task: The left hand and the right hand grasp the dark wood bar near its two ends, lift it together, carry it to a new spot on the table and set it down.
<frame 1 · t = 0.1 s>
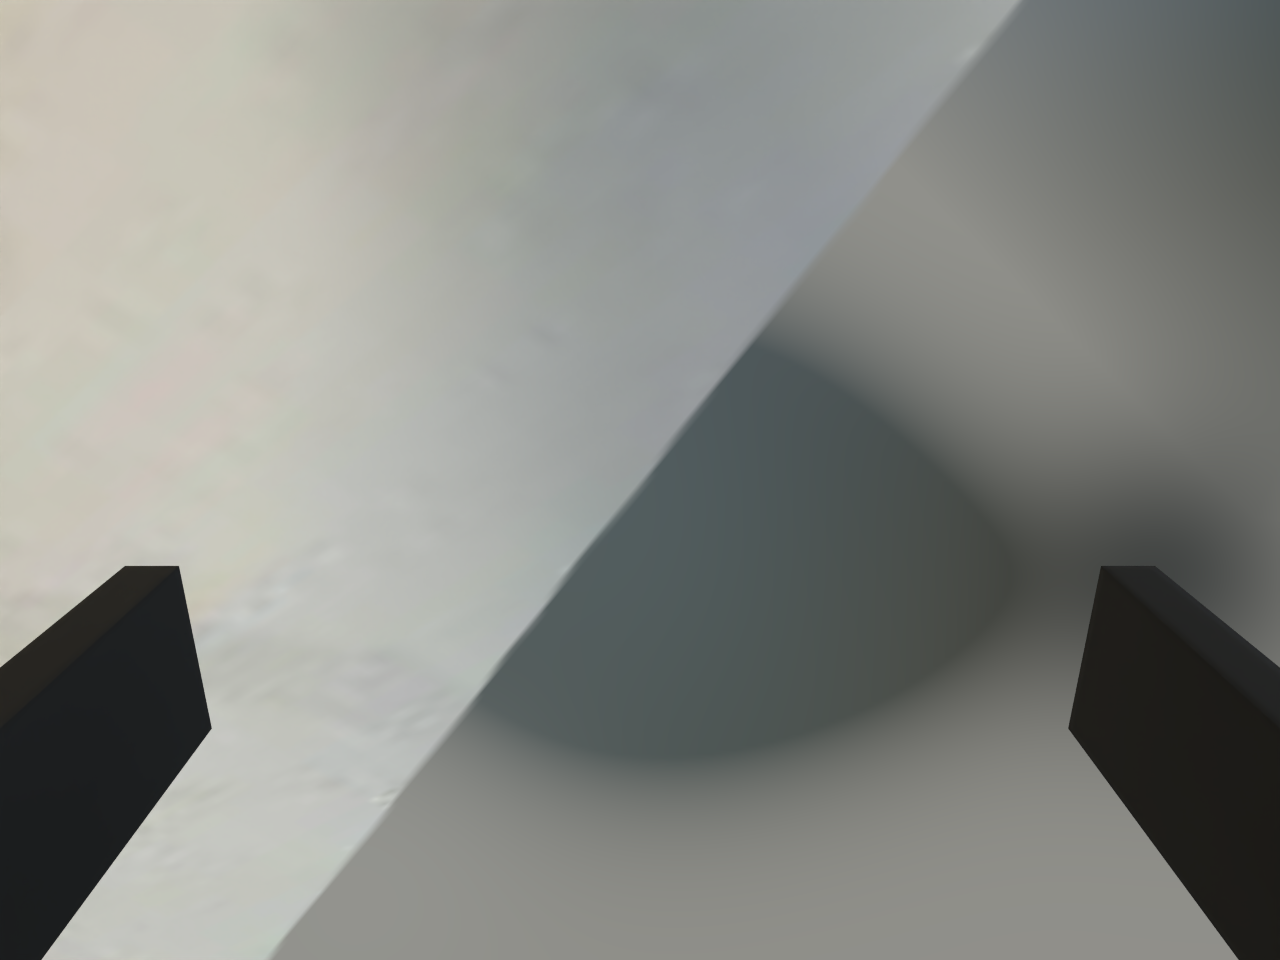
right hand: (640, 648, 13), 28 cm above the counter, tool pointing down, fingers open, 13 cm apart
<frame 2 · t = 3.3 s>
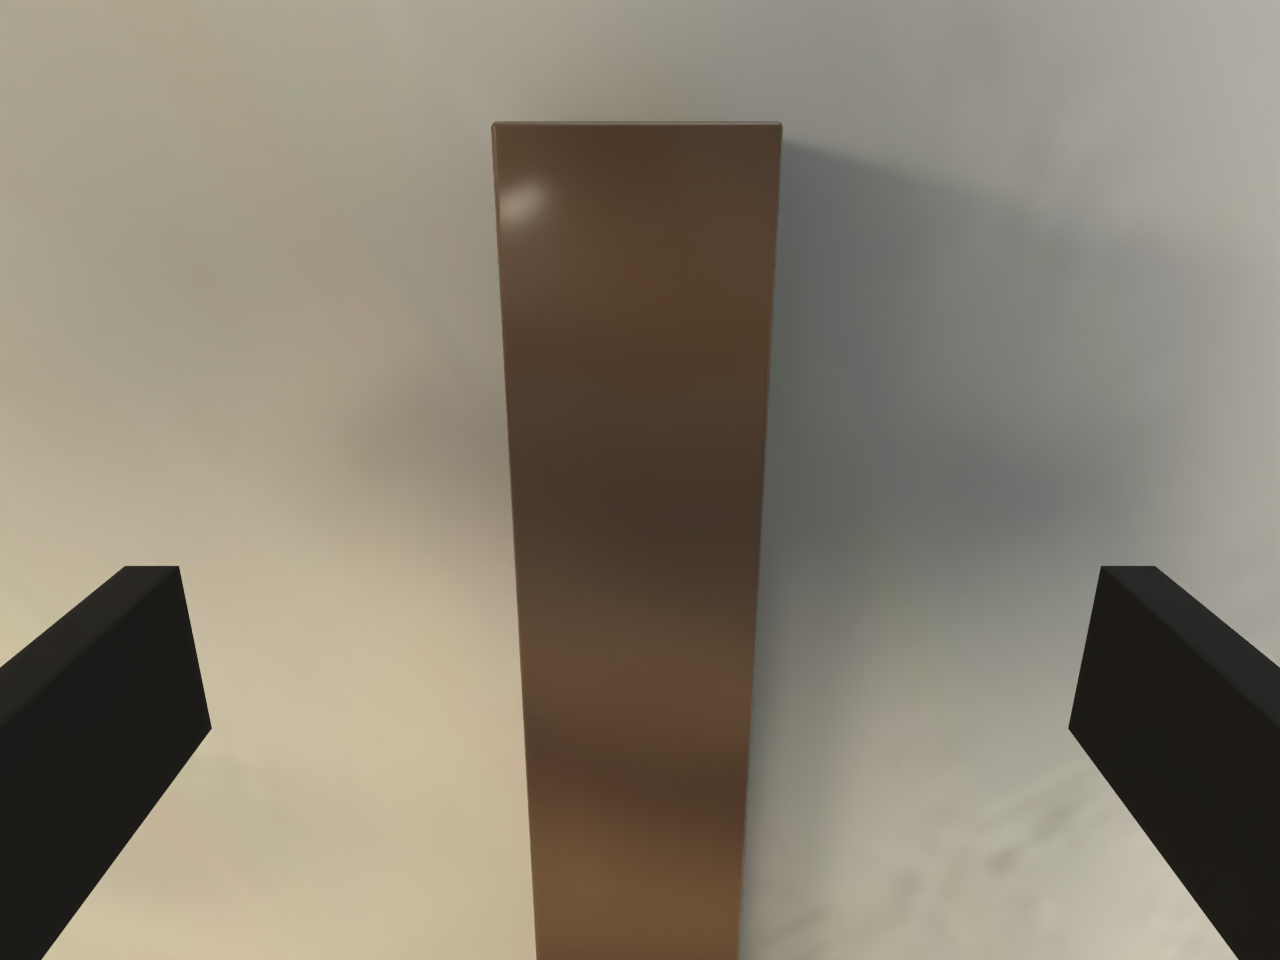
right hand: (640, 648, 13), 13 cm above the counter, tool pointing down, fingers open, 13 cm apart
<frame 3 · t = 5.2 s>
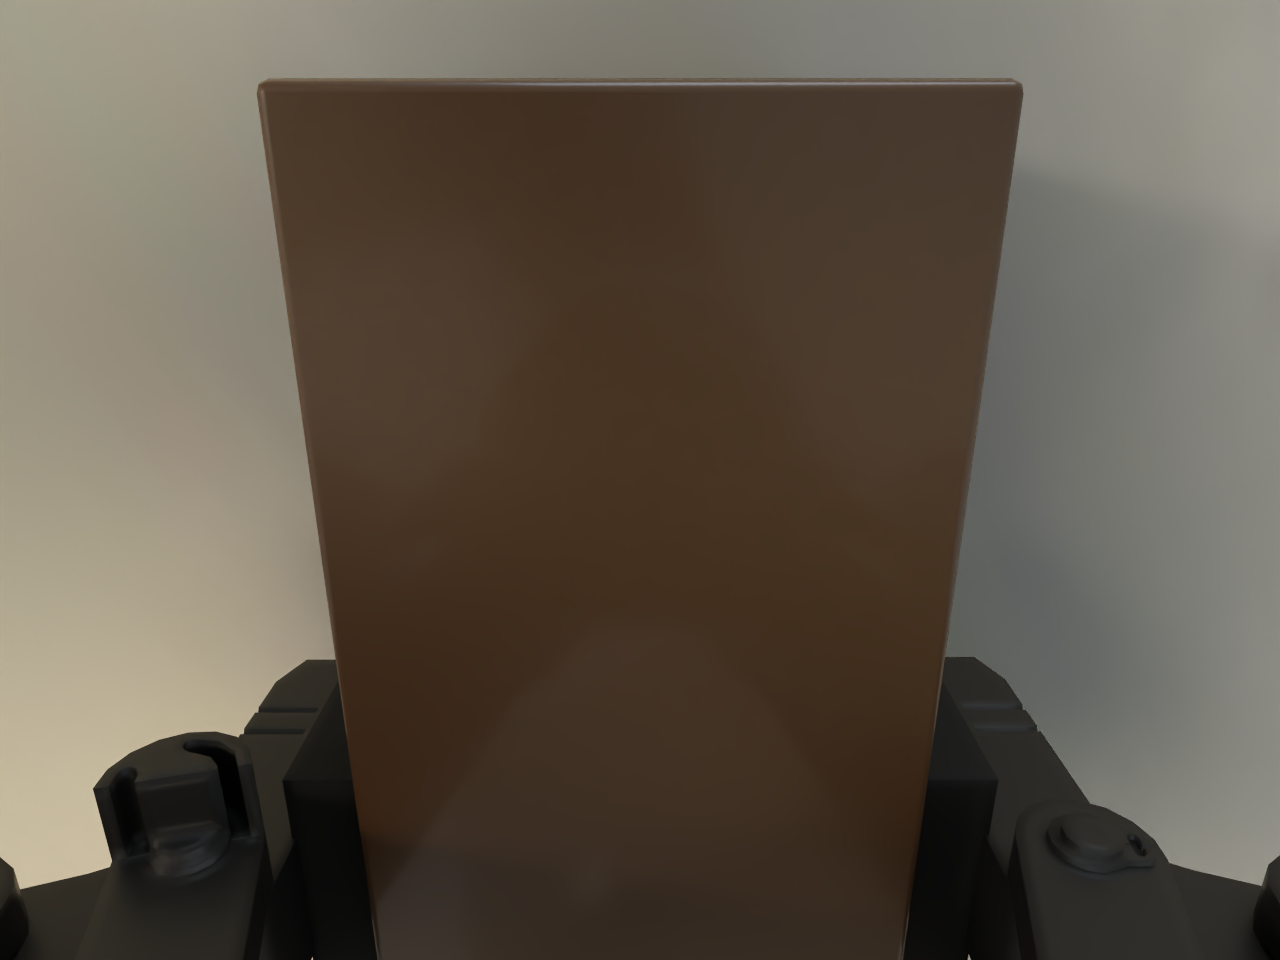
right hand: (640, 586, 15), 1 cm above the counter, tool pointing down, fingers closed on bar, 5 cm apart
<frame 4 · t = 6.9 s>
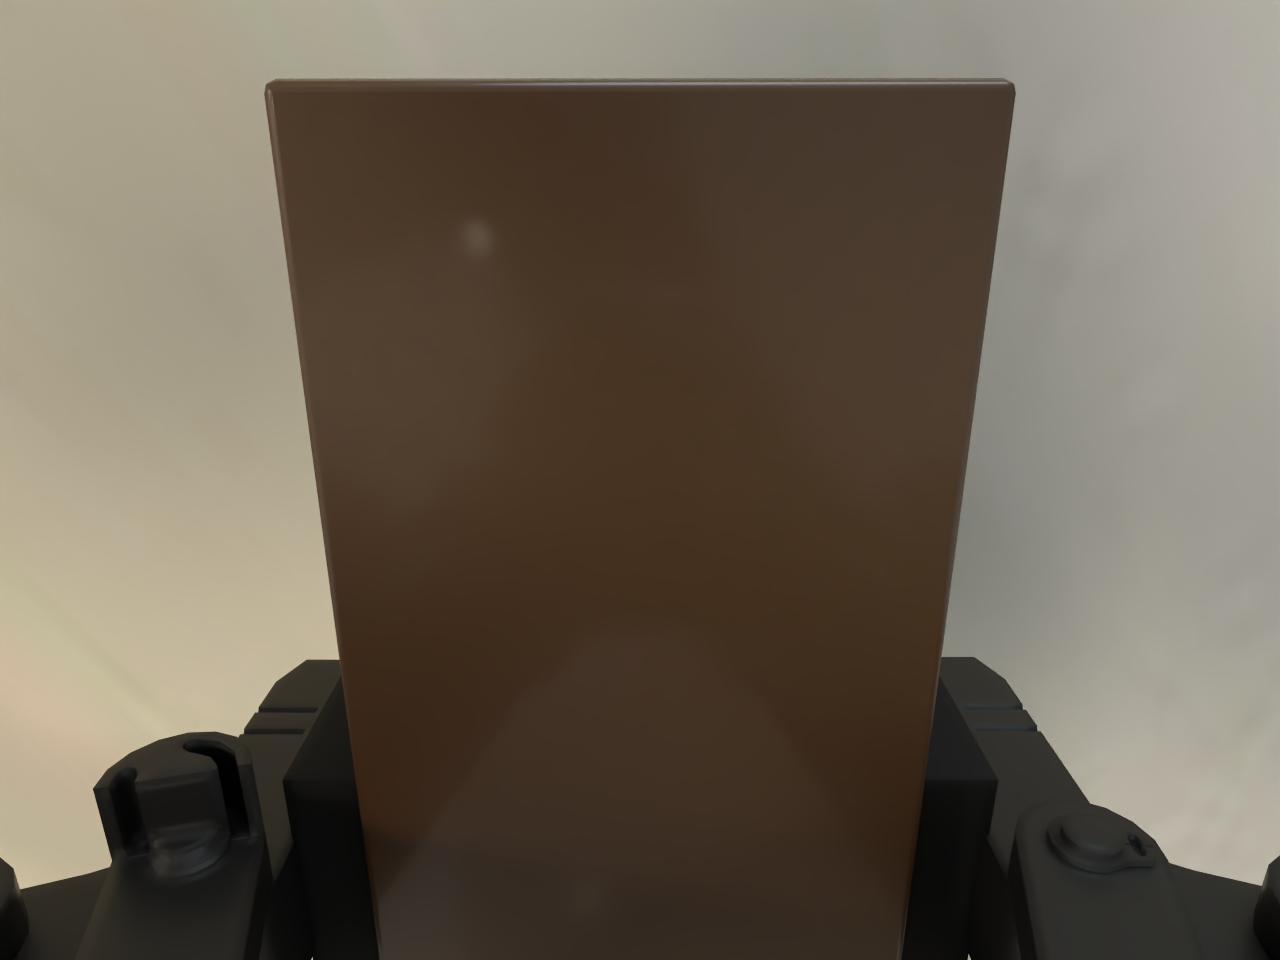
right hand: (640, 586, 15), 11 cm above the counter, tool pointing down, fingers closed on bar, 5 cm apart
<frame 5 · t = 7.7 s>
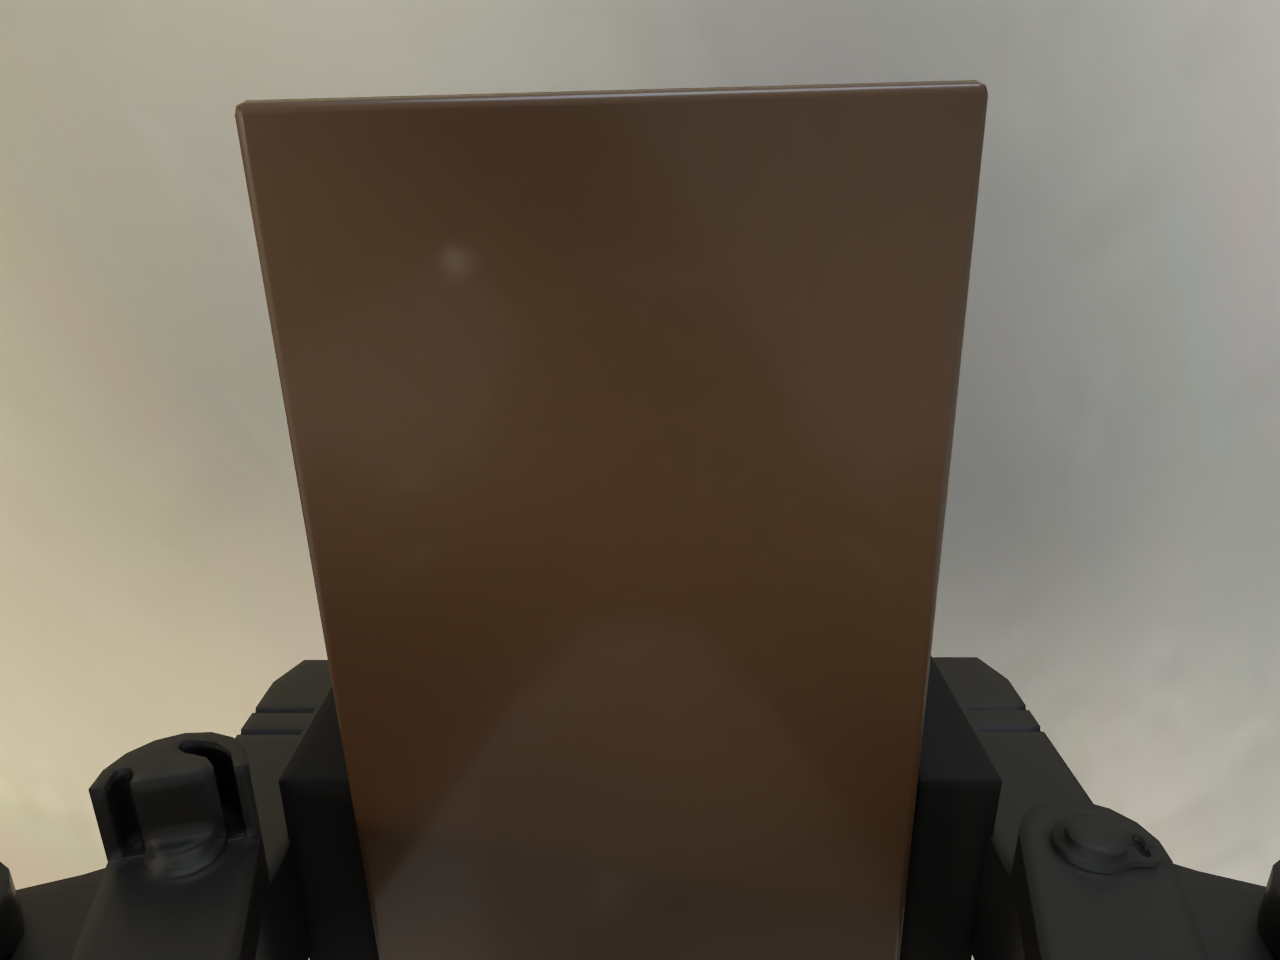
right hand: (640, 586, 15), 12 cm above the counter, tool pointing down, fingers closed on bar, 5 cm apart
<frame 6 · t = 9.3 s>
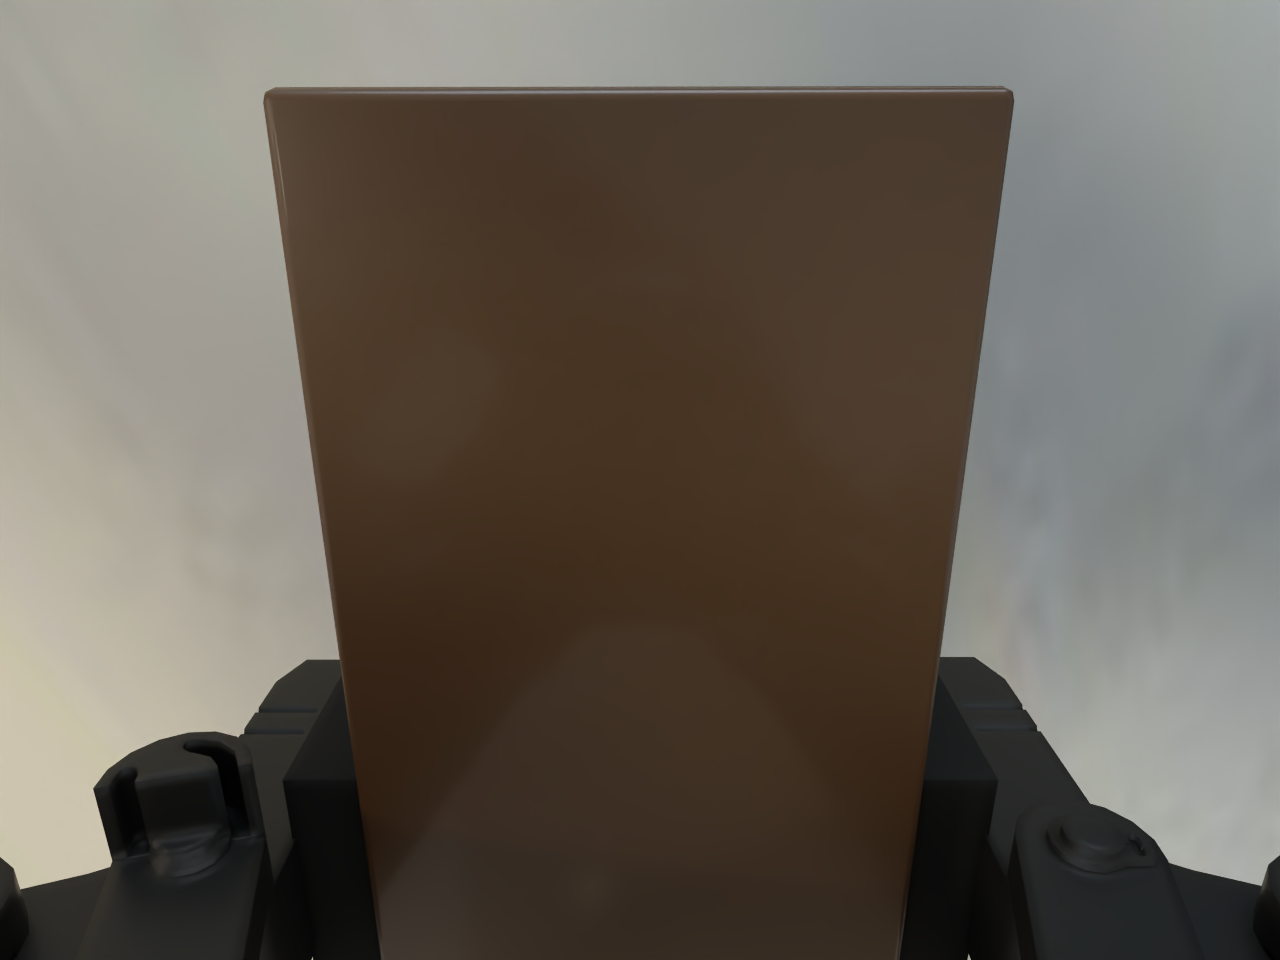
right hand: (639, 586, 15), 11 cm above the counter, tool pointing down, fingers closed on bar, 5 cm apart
when the left hand's fingers open (2 cm above the counter, at t = 10.5 s): bar drops 1 cm, on the counter.
when the right hand's fingers open (2 cm above the counter, at t = 10.5 s): bar drops 1 cm, on the counter.
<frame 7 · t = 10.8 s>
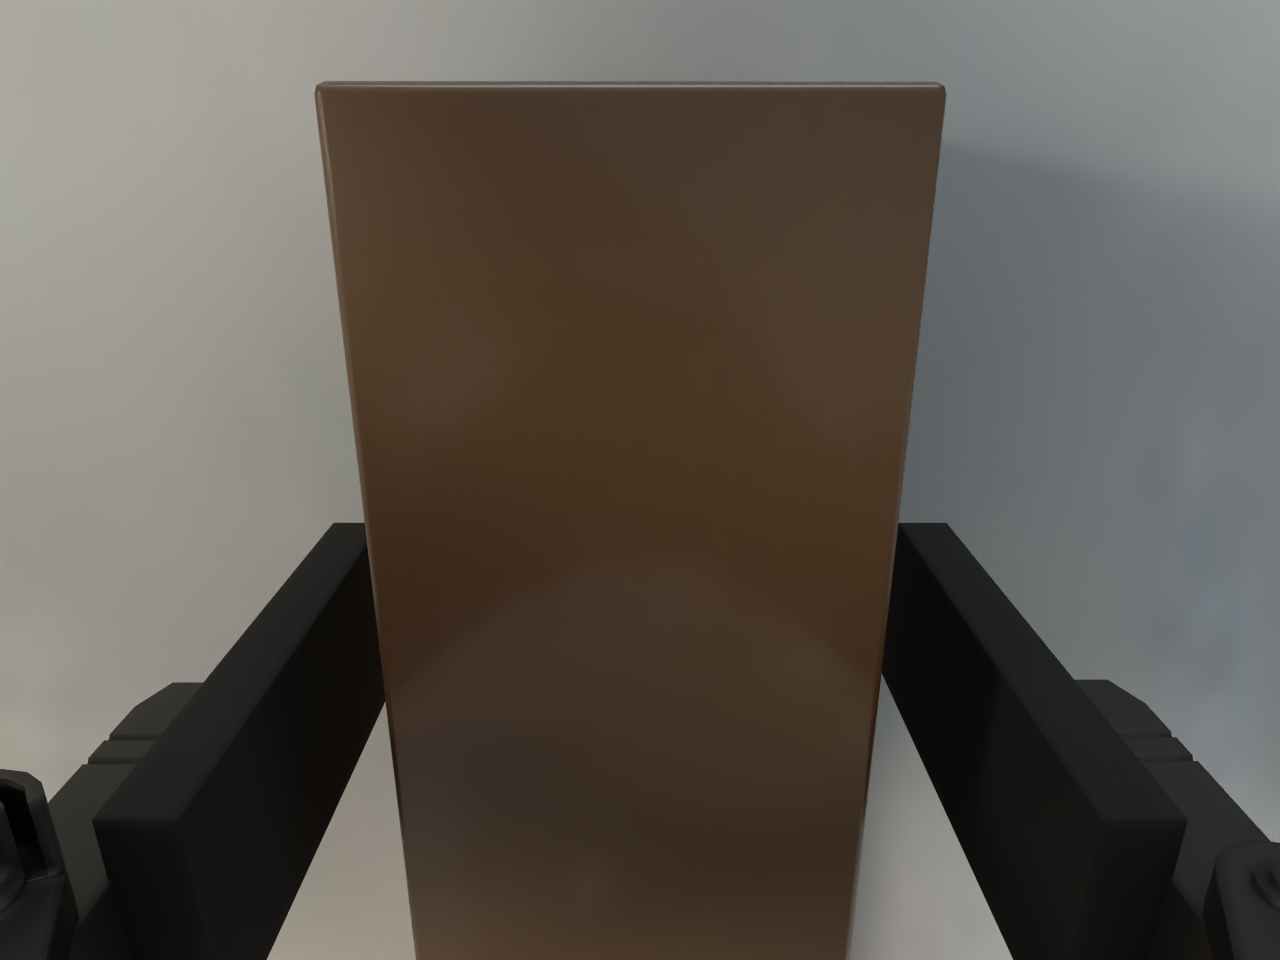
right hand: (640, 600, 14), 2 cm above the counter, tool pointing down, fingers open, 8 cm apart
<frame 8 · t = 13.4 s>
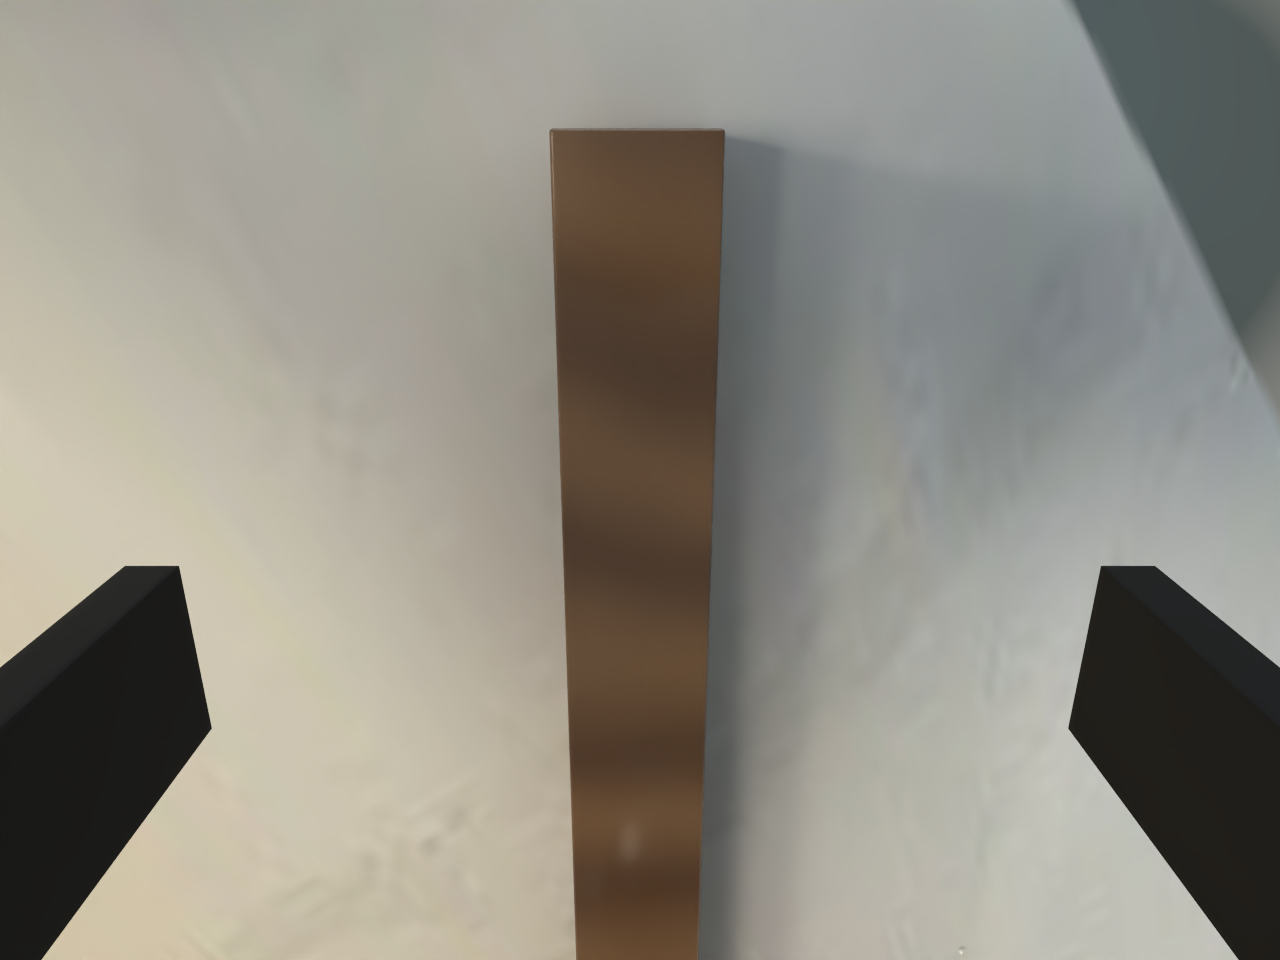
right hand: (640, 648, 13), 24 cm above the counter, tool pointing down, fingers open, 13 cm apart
bar: (637, 907, 46), on the counter
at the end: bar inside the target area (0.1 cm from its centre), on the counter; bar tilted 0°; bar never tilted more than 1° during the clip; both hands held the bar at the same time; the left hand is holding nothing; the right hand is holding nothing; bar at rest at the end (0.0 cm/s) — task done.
